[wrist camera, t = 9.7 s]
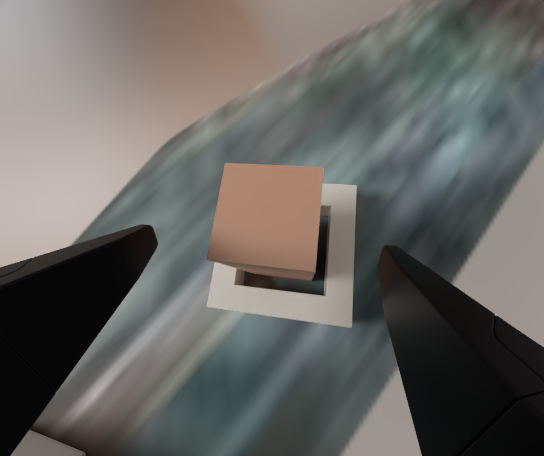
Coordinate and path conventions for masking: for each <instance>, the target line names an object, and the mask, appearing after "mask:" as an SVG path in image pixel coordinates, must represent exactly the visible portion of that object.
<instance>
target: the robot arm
mask: <svg viewBox="0 0 544 456" xmlns="http://www.w3.org/2000/svg"><path fill="white" fill-rule="evenodd" d="M157 246H158V242H157V238H156V235H155V232H154V229H153V227H152V226H150V225H143V224H142V225H138V226H134V227H131V228H128V229H125V230H121V231H118V232H115V233H112V234H108V235H105V236H102V237H99V238H95V239H92V240H89V241H86V242H82V243H79V244H76V245H73V246H69V247H66V248H63V249H60V250H56V251H53V252H50V253H47V254H43V255H40V256H37V257H34V258H30V259H27V260H24V261H20V262H17V263H14V264H10V265H7V266H4V267H1V268H0V456H11V454H12V453H13V452H14V450H15V449H16V448H17V446H18V445H19V443H20V442H21V441H22V439H23V438H24V436H25V435H26V434H27V432H28V431H29V430H30V428H31V427H32V425H33V424H34V423H35V421H36V420H37V419H38V417H39V416H40V414H41V413H42V412H43V410H44V409H45V407H46V406H47V405H48V403H49V402H50V401H51V399H52V398H53V396H54V395H55V394H56V391H57V390H58V389H59V388H60V386H61V385H62V384H63V382H64V381H65V379H66V378H67V377H68V375H69V374H70V373H71V371H72V370H73V368H74V367H75V366H76V364H77V363H78V362H79V360H80V359H81V357H82V356H83V355H84V353H85V352H86V350H87V349H88V348H89V346H90V345H91V344H92V342H93V341H94V339H95V338H96V337H97V335H98V334H99V333H100V331H101V330H102V328H103V327H104V326H105V324H106V323H107V322H108V320H109V319H110V317H111V316H112V315H113V313H114V312H115V311H116V309H117V308H118V306H119V305H120V304H121V302H122V301H123V299H124V298H125V297H126V295H127V294H128V293H129V291H130V290H131V288H132V287H133V286H134V284H135V283H136V282H137V280H138V279H139V277H140V276H141V274H142V272H143V271H144V269H145V267H146V265H147V264H148V262H149V260H150V259H151V257H152V255H153V254H154V252H155V250H156V248H157ZM378 275H379V282H380V290H381V297H382V304H383V310H384V314H385V318H386V322H387V326H388V330H389V333H390V337H391V341H392V345H393V348H394V352H395V356H396V360H397V363H398V367H399V371H400V374H401V378H402V382H403V386H404V390H405V393H406V397H407V401H408V404H409V408H410V412H411V416H412V419H413V424H414V427H415V431H416V435H417V438H418V442H419V446H420V450H421V454H422V456H544V347H542V346H541V345H539V344H538V343H536V342H535V341H533V340H532V339H530V338H529V337H527V336H526V335H524V334H523V333H521V332H520V331H519V330H517V329H515V328H514V327H512V326H511V325H510V324H508V323H507V322H505V321H504V320H503V319H501V318H500V317H498V316H495V315H494V313H492V312H491V311H489V310H488V309H487V308H485V307H484V306H482V305H481V304H479V303H478V302H476V301H475V300H474V299H472V298H471V297H469V296H468V295H466V294H465V293H464V292H462V291H461V290H459V289H458V288H456V287H455V286H454V285H452V284H451V283H449V282H448V281H446V280H445V279H443V278H442V277H441V276H439V275H438V274H436V273H435V272H433V271H432V270H431V269H429V268H428V267H426V266H425V265H423V264H422V263H420V262H419V261H418V260H416V259H415V258H413V257H412V256H410V255H409V254H407V253H406V252H405V251H403V250H402V249H400V248H399V247H397V246H389V245H385V246H384V247H383V249H382V252H381V256H380V259H379V263H378Z"/></svg>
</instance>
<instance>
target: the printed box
mask: <svg viewBox="0 0 544 456" xmlns="http://www.w3.org/2000/svg"><path fill="white" fill-rule="evenodd" d="M11 456H86V453H84V452H83V451H80V450H78V449H76V448H73V447H71V446H68V445H66V444H63V443H61V442H58V441H56V440H54V439H51V438H49V437H46V436H44V435H41V434H39V433H36V432H34V431H32V430H29V431H28V432H27V434H26V435H25V436H24V438H23V439H22V441H21V442H20V443H19V445H18V446H17V448H16V449H15V450H14V452H13V453H12V454H11Z"/></svg>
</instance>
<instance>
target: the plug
mask: <svg viewBox="0 0 544 456" xmlns="http://www.w3.org/2000/svg"><path fill="white" fill-rule="evenodd" d="M323 172H324V167H316V166H290V165H263V164H237V163H225V167H224V172H223V177H222V182H221V187H220V193H219V198H218V203H217V208H216V213H215V219H214V224H213V229H212V234H211V239H210V245H209V250H208V255H207V260H210V261H214V262H217V263H220V264H224V265H227V266H230V267H234V268H237V269H240V270H244V271H247V272H250V273H254V274H258V275H266V276H274V277H282V278H290V279H299V280H307V281H312V279H313V276H314V274H315V272H316V260H317V247H318V235H319V222H320V209H321V197H322V184H323Z"/></svg>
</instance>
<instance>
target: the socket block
mask: <svg viewBox="0 0 544 456" xmlns="http://www.w3.org/2000/svg"><path fill="white" fill-rule="evenodd" d="M356 189H357V185H341V184H322V197H321V209H320V215H321V216H328V230H327V246H326V262H325V277H324V293H323V295H315V294H307V293H299V292H291V291H283V290H275V289H267V288H259V287H251V286H243V283H244V276H245V271H244V270H240V269H237V268H234V267H230V266H227V265H224V264H220V263H217V262H215V264H214V269H213V275H212V281H211V286H210V292H209V298H208V303H207V307H211V308H218V309H225V310H232V311H239V312H246V313H253V314H259V315H266V316H273V317H280V318H287V319H294V320H301V321H308V322H314V323H321V324H328V325H335V326H342V327H349V328H352V307H353V278H354V248H355V218H356Z"/></svg>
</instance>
